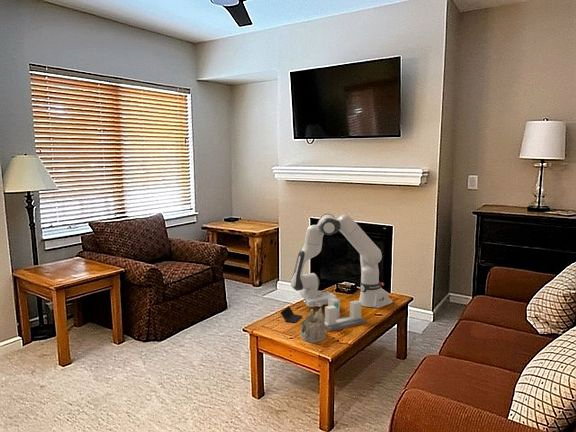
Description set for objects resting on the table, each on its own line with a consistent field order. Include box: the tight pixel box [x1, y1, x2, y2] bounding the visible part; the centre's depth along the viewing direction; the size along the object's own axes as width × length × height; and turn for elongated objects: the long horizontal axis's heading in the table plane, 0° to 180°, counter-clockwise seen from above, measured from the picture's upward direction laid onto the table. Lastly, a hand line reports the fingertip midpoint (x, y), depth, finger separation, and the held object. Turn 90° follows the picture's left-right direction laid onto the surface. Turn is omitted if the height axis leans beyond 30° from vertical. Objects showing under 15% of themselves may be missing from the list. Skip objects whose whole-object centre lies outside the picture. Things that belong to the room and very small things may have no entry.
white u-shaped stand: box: [324, 299, 367, 332], centre depth 245 cm, size 25×10×12 cm, turn 118°
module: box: [327, 297, 341, 319], centre depth 255 cm, size 4×6×11 cm
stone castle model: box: [299, 307, 327, 344], centre depth 230 cm, size 16×16×15 cm
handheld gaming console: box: [280, 306, 303, 324], centre depth 254 cm, size 12×7×10 cm
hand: (328, 304), depth 261 cm, fingers open, 8 cm apart
